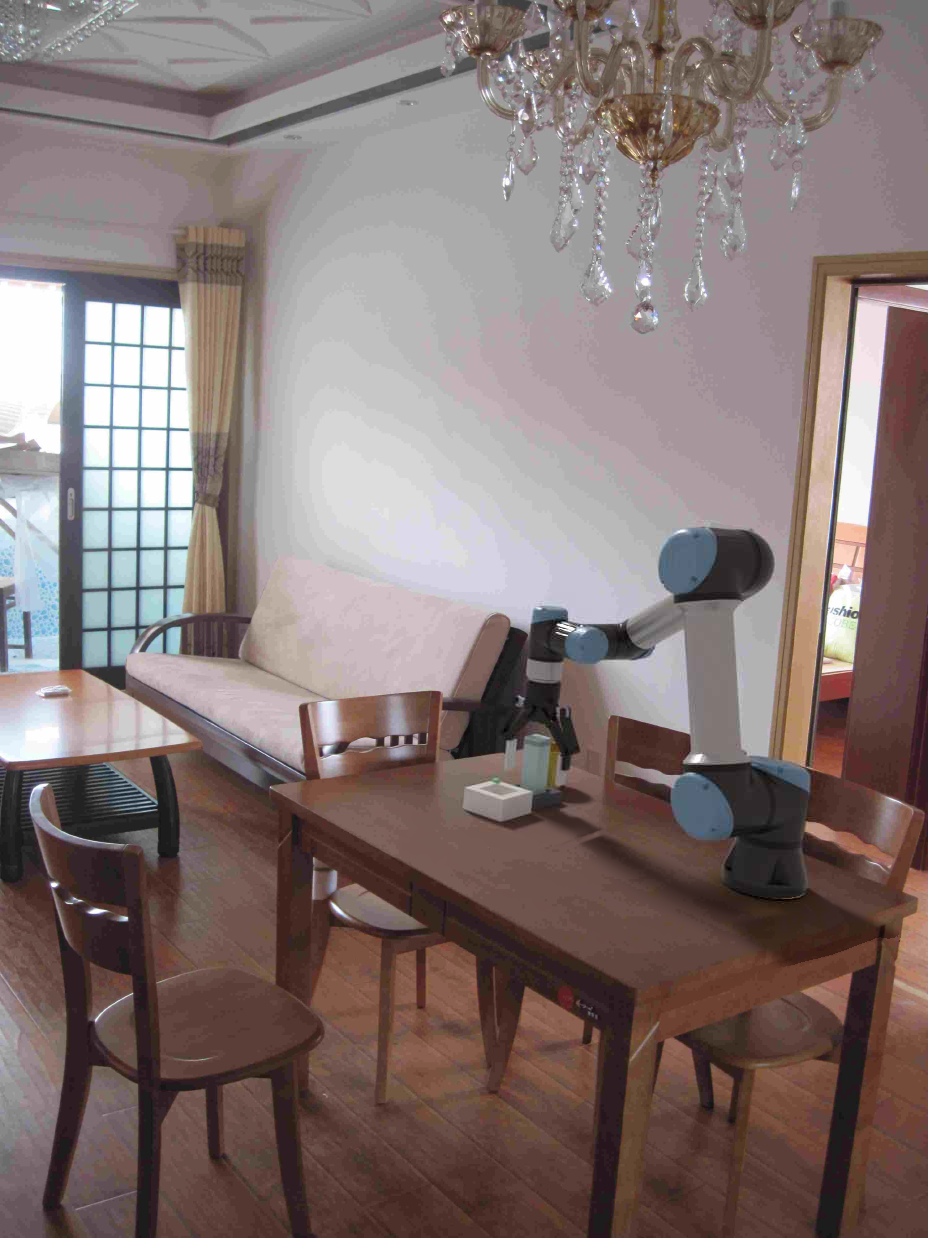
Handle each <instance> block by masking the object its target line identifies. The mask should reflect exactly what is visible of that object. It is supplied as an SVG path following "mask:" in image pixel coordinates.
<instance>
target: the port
mask: <svg viewBox="0 0 928 1238" xmlns="http://www.w3.org/2000/svg"><path fill="white" fill-rule="evenodd" d="M513 785H514V784H510V783H506V782H503V781H501V778H497V777H494V778H492V779H491V780H490V781H485V782H482V783H477V784H474V785H469V786H466V787H464V790H463V791H464V795H463V804H462V809H463V810H465V811H467V812H471V813H473V814H475V815H476V814H477V815H479V816H483V817H485V818H488V819H491V820H494V821H498V822H506V821H508V820H512V819H515V818H519V817H522V816H526V815H528V814H531V813H532V809H531V807H532V796H533V791H529V790H526V789H523V788H520V787H516V786H513Z"/></svg>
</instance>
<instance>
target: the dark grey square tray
mask: <svg viewBox="0 0 928 1238" xmlns="http://www.w3.org/2000/svg"><path fill="white" fill-rule="evenodd" d="M512 785H513V786H516V787H520V783H516V784H512ZM562 796H563V791H562V790H559V789H553V788H550V787H547V786H546V793H542V794H539V795H533V796H532V807H531V810H534V811H538V810H542V809H545V808H548V807H551V806H555V805H559V804H561V803H562V800H563V797H562Z"/></svg>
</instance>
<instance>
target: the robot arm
mask: <svg viewBox="0 0 928 1238" xmlns="http://www.w3.org/2000/svg"><path fill="white" fill-rule="evenodd" d="M657 562H658V563H657V573H658V578H659V581H660V584H661V585H663V588H664V589H665V590H666V591H667V592H669V593H667V594H666V595H664V596H662V597H661V598H659V599H657V600H656V601H654V602H653V603H651V604H650V605H648V606H647V607H644V608H643V609H642V610H640V611H639V612H638V611H637V613H635V614H634V615H631V616H630V617H629V618H627V619H625V620H624V621H621V622H619V623H578V622H573V621H569V612H568V610H567V609H566V608H564V607H561V606H555V605H537V606H535V607H534V608H533V610H532V615H531V622H530V623H529V624H530V625H529V626H530V630H529V642H528V651H527V653H528V656H527V663H526V671H525V673H526V674H525V676H527V678H526V679H525V684H524V685H525V686H524V695H522V694H520V695H514V696H512V698H511V704H510V707H509V709H508V710H507V711H506V714H505V715H504V717H503V719H502V721H501V723H500V725H499V727H498V729H497V730H496V733H497V735H498V736H501V737H502V738H503V748H502V751H503V752H502V753H503V754H504V764H503V770H504V771H506V772H507V771H511V770H514V769H515V763H516V753H517V744H518V739H516V736H518V734H519V733H520V732H521V731H522V730H523V729H524V728H525V727H526V725H527V724H528V723H530V722H532V723H538V724H540V725H544V726H545V727H546V729H549V732H550V734H551V736H552V738H553V740H554V742H556V744H557V746H558V748H559V750H560V752H561V754H560V755H558V760H557V769H556V779H555V785H556V786H560V785H561V786H563V785H565V784H566V782H567V781H566V780H567V771H570V768H571V761H572V756H573V755H577V754H580V753H581V748H580V745H579V741H578V738H577V734H576V731H575V727H574V724H573V719H572V708H571V707H570V706H566V707H561V706H559V699H560V698H561V691H562V690H561V689H562V682H561V681H560V680H562V678H563V669H564V668H563V666H564V659H568V660H571V661H573V662H576V663H577V664H581V665H583V664H584V665H589V666H591V665H597V664H598V663H599V662H601V661H627V660H628V661H637V660H638V661H639V660H643V659H647V658H649V657H650V656H652V654H653V651H655V649H656V645H659V644H660V643H662V642H663V641H665V640H667V639H669V638H670V637H672V636H674V635H676V634H677V633H680V632H681V631H682V630H683V631H684V647H685V665H686V666H685V668H686V684H687V685H686V686H687V700H688V701H687V702H688V716H689V717H688V720H689V737H690V752H689V754H688V755H687V756H686V757H685V758H684V760H682V766H683V767H682V768H683V774H682V775H680V776H678V777H677V778H676V779H675V781H674V785H672V787H671V790H670V791H671V792H670V803H671V809H672V813H673V815H674V818H675V819H676V822H677V823H678V825H679V826H680V827H682V829H683V830H684V832H686V833H687V834H688V835H689V836H690V837H691V838H694V839H696V840H699V841H718V842H719V841H724V840H727V839H729V838H730V839H732V838H735V839H734V840H733V843H732V844H731V847H730V849H729V851H728V853H727V856H726V857H725V859H724V861H723V863H722V867H721V875H720V879H721V881H722V883H723V884H725V885H726V886H727V887H729V888H730V889H733V890H735V891H737V892H739V893H741V892H742V894H744V893H745V894H744V895H748V894H749V895H748V896H751V895H753V896H752V897H755V896H758V897H757V898H760V897H766V898H778V899H780V898H781V899H782V898H791V897H797V896H800V895H802V894H803V893H805V892H806V893H807V890H808V889H807V888H808V876H807V869H806V866H805V860H804V856H803V839H804V834H805V827H806V819H807V813H808V812H807V811H808V805H809V798H810V797H809V796H810V794H811V789H810V787H811V786H810V785H811V775H810V773H809V772H808V770H807V769H806V768H804V767H803V766H800V765H797V764H795V763H792V762H789V761H786V760H785V761H784V760H781V759H777V758H773V757H768V756H762V755H747V754H746V753H745V752H744V751H743V750H742V739H741V735H742V734H741V722H740V721H741V720H740V705H739V687H738V672H737V671H738V670H737V654H736V637H735V620H734V612H735V610H736V609H737V608H738V607H739V606H740V605H741V604H742V602H744V601H746V600H747V599H749V598H752V597H753V596H755V595H756V594H757V593H759V592H761V591H763V589H765V588H766V586H767V585H768V584H769V583H770V581H771V580H772V578H773V577H772V576H773V574H774V571H775V566H776V565H775V556H774V552H773V550H772V548H771V546H770V544H769V543H768V541H767V540H765V538H763V537H762V536H761V535H759V534H758V533H756V532H754V531H750V530H747V529H732V528H719V527H710V526H708V527H707V526H695V527H694V526H693V527H685V528H681V529H679V530H677V531H675V532H674V533H672V534H671V535H670V536H669V537H668V539H667V541H666V543H665V544H663V546H662V548H661V550H660V553H659V556H658V561H657ZM524 696H525V697H524ZM522 707H523V708H524V709H525V711H524V712H523V713H522V714H521V715H520V717H519V718H518V719H517V720H516V718H517V716H518V715H519V713H520V712H521V709H522ZM558 718H559V719H558ZM515 720H516V722H515ZM806 889H807V890H806Z"/></svg>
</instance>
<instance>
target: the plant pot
mask: <svg viewBox="0 0 928 1238" xmlns="http://www.w3.org/2000/svg"><path fill="white" fill-rule="evenodd" d="M560 754H561V752H560V750H559V748H558V746H557V744H556V742H555V741H551V745H550V755H549V765H548V775H547V785H546V786H547V787H550V788H553V789H556V790H558V789H560V788H561V786H562V785H560V786H556V785H555V779H556V769H557V760H558V755H560Z"/></svg>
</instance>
